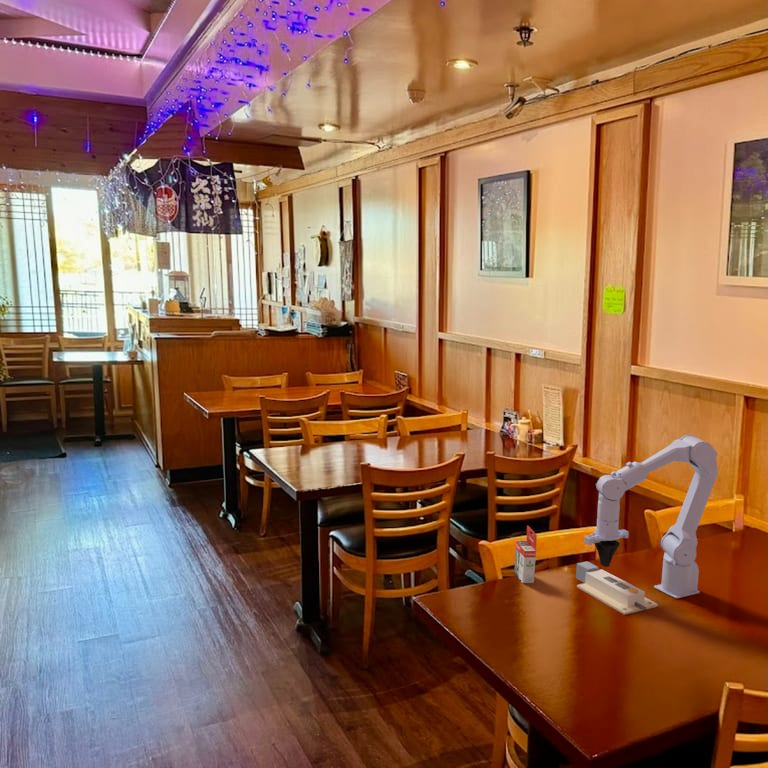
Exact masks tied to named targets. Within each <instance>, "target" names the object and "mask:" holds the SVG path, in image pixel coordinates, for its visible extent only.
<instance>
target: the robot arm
mask: <svg viewBox="0 0 768 768" xmlns="http://www.w3.org/2000/svg"><path fill="white" fill-rule="evenodd" d="M717 457H718V452H717V451H716V449H715V448H714V447H713V445H712V444H711V443H710V442H707V441H705V440H702V439H700V438H698V437H697V436H696V435H693V434H686V435H682V437H680V438H678V439H674V440H673V441H672V442H671V443H670V444H669V445H668V446H666V447H665V448H663V449H661V450H659V451H658V452H656V453H654V454H653V455H651V456H649V457H648V458H646V459H645V460H644V461H641V462H638V461H633V462H631V461H628V462H626V463H625V466H623V467H621V468H620V469H617V471H614V470H613V471H612V472H610V474H604V475H602V476H600V477H599V478H598V480H597V482H596V483H595V487H596V490H597V491H598V501H597V514H596V515H597V516H596V517H597V518H596V529H594V532H593V533H590V534H589V535H586V536H584V539H583V541H584V542H583V543H584V544H585V545H587V546H592V545H593V544H594V547H595V549H596V551H597V554H598V558H599V562H600V565H601V566H603V567H605V568H608V567H610V566H611V562H612V559H613V557H614V555H615V554H616V553H615V552H616V551H617V550H618V548H619V547H620V542H619V541H618V540H619V539H629V535H630V534H629V533H630V532H629V531H628V530H626V529H619V521H620V520H619V519H620V509H621V506H620V502H621V498H623V496H624V495H625V492H626V491H628V490H630V489H631V488H633V487H635V486H637V485H639V484H641V483H643V482H645V481H647V477H648V475H649V474H650V473H652V472H654V471H656V470H658V469H660V468H663V467H665V466H668V465H669V464H671V463H673V462H680V463H681V462H683V463H688V464H690V466H691V468H692V469H693V471H694V474H693V476H692V477H693V478H692V480H691V482H690V485H689V487H688V490H687V492H686V496H685V498H684V501H683V503H682V507H681V509H680V511H679V514H678V517H677V519H676V522H675V524H673V525H671V526H670V527H669V529H668V530H667V532H666V533H665V534H664V535H663V537H662V538H661V539H660V547H661V549H662V550H663V551H664V552H663V553H664V554H663V560H662V571H661V583H660V584H657V585H656V584H655V585H653V588H654V589H657V590H658V591H660V592H662V593H664V594H666V595H668V596H669V597H672V598H674V599H681V598H685V597H689V596H693V595H697V594H700V593H701V592H700V590H698V585H699V573H700V572H699V571H700V570H699V565H698V564H697V561H695V560H696V558H697V546H698V538H697V533H696V532H697V529H698V527H699V524H700V521H701V519H702V516H703V514H704V511H705V509H706V507H707V503H708V501H709V497H710V495H711V493H712V490H713V488H714V485H715V482H716V480H717V477H718V473H719V469H718V463H717Z"/></svg>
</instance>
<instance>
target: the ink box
mask: <svg viewBox="0 0 768 768" xmlns="http://www.w3.org/2000/svg"><path fill="white" fill-rule="evenodd" d="M537 539H538V538H537V534H536V533H535V531H534V530H533V529H532V528H531V527H530V526H529V525H526V540H516V541H515V556H514V557H515V559H514V571H513V572H514V574H515V575H516V577H517V578H518V579H519V581H520V580H521V581H520V582H521V583H522V584H534V582H535V570H536V557H537V556H536V554H537Z"/></svg>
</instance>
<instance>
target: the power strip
mask: <svg viewBox="0 0 768 768" xmlns="http://www.w3.org/2000/svg"><path fill="white" fill-rule="evenodd" d="M576 588H578V589H579V590H581V591H583V592H584V593H587V594H588V595H590V596H592V597H593V598H595V599H596V600H598V601H600V602H602V603H604V604H605V605H606V606H608V607H610V608H612V609H614V610H615V611H616V612H618V613H620V614H622V615H629V614H634V613H637V612H642V611H646V610H650V609H654V608H656V607H657V608H658V607H659V604H658V603H657V602H655V601H653V600H651V599H650V598H647V597H645V595H646V591H644V590H643V589H640V588H639V587H637V586H634V585H633V584H631V583H629V582H628V581H625V580H624V579H621V578H620V577H618V576H615V575H613V574H612V573H609V572H608V571H605V570H604V569H598V570H596V571H591V572H586V575H585V583H584V582H583V583H579V584H577V585H576Z"/></svg>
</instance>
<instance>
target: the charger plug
mask: <svg viewBox="0 0 768 768" xmlns="http://www.w3.org/2000/svg"><path fill="white" fill-rule="evenodd" d="M575 570H576V571H575V578H576V580H579V581H580V582H582V583H583V584H584V583H585V575H586V572H591V571H596V570H599V566H597V565H595V564H593V563H591V562H589V561H582V562H577V563H576V569H575Z"/></svg>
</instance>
